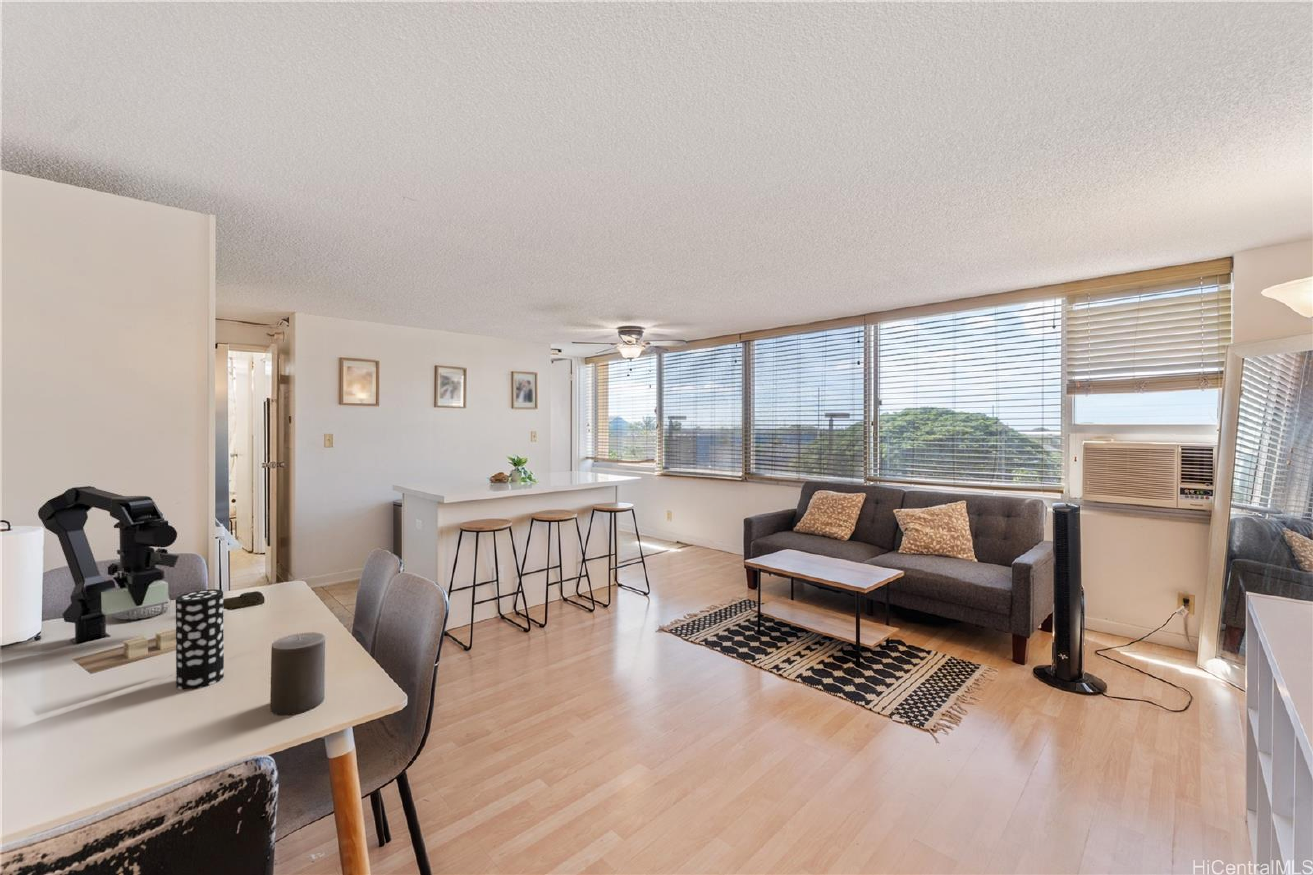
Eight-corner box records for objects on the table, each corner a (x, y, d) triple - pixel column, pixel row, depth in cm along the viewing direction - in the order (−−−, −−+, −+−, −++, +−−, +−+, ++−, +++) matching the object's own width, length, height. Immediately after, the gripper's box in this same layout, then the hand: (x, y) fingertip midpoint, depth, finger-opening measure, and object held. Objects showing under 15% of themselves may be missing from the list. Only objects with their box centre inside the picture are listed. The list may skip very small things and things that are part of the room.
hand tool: (186, 618, 162) (186, 603, 162) (188, 614, 165) (188, 599, 165) (264, 607, 173) (264, 592, 173) (264, 603, 177) (264, 589, 176)
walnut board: (72, 665, 130) (72, 659, 130) (195, 632, 151) (195, 627, 151) (91, 680, 123) (91, 673, 123) (218, 643, 144) (217, 638, 144)
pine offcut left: (123, 655, 133) (123, 641, 133) (142, 650, 136) (142, 636, 136) (128, 658, 131) (128, 644, 131) (147, 653, 134) (147, 639, 134)
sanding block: (101, 613, 137) (101, 592, 137) (162, 600, 148) (162, 580, 148) (107, 616, 135) (106, 595, 135) (168, 603, 146) (168, 582, 146)
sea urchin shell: (136, 608, 170) (136, 582, 169) (183, 607, 171) (182, 582, 171) (97, 624, 156) (97, 596, 156) (148, 622, 158) (148, 595, 158)
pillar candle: (283, 720, 108) (284, 647, 108) (261, 706, 113) (262, 635, 113) (334, 700, 116) (335, 632, 116) (311, 688, 122) (312, 622, 121)
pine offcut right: (155, 646, 138) (155, 633, 138) (173, 642, 141) (173, 628, 141) (160, 649, 136) (160, 636, 136) (178, 645, 139) (178, 631, 139)
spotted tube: (232, 676, 126) (231, 591, 126) (191, 692, 119) (191, 603, 118) (208, 670, 129) (207, 587, 128) (167, 686, 121) (166, 598, 121)
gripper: (188, 543, 143) (189, 601, 144) (160, 535, 153) (161, 590, 153) (132, 552, 134) (133, 614, 134) (106, 543, 143) (107, 601, 144)
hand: (136, 604), depth 141 cm, fingers closed on sanding block, 4 cm apart
